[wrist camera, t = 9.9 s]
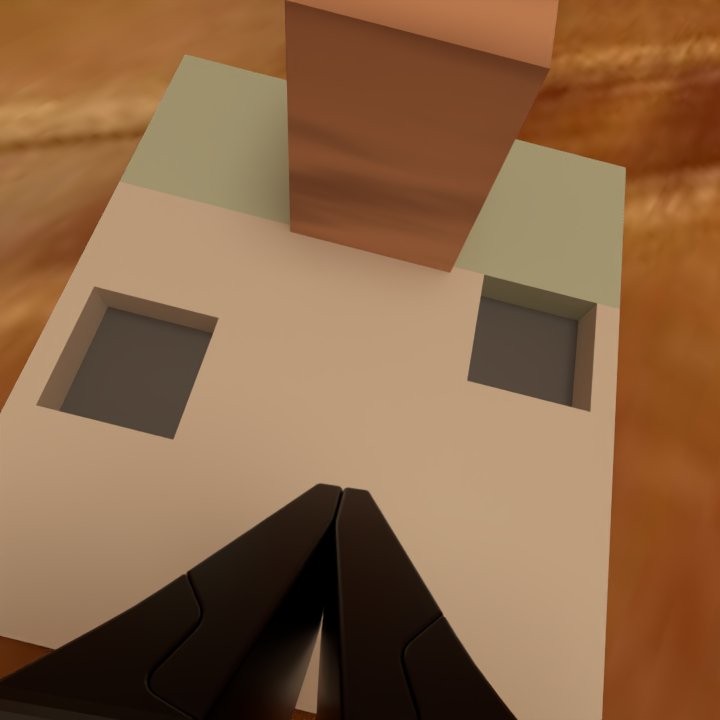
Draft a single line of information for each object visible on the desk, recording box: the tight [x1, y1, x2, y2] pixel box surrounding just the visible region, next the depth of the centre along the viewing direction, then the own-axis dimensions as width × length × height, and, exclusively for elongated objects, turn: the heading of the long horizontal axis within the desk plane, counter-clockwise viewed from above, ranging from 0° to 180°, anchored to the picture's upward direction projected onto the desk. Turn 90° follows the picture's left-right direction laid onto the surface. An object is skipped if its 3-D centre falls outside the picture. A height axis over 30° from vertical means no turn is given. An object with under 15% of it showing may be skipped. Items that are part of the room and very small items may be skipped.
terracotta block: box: [285, 0, 559, 273], centre depth 20 cm, size 7×7×10 cm
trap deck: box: [0, 182, 620, 720], centre depth 21 cm, size 17×22×2 cm
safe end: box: [120, 54, 626, 321], centre depth 26 cm, size 8×22×2 cm, turn 78°
